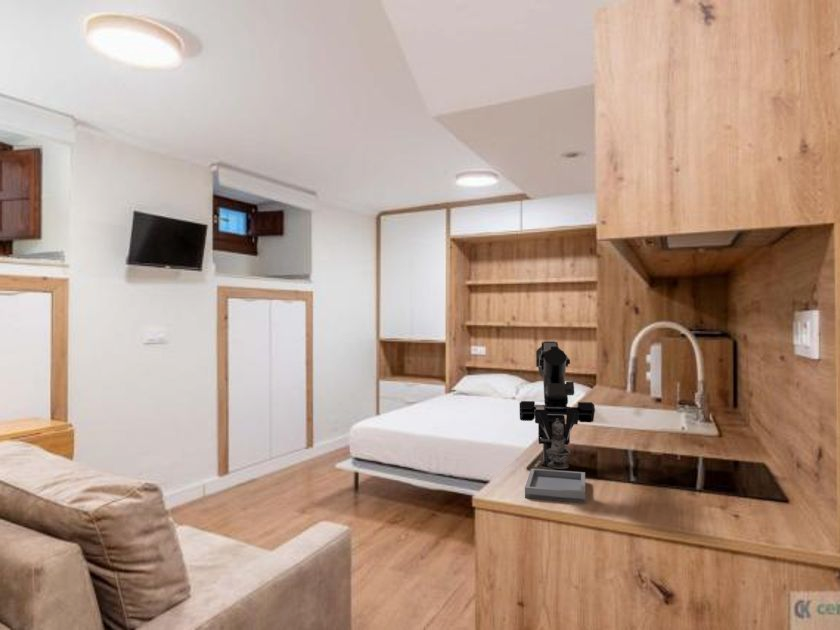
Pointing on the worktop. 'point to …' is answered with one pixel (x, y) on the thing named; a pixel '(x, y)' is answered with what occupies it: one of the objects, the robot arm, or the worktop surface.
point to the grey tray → (556, 485)
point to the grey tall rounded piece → (558, 447)
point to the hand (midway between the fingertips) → (558, 440)
